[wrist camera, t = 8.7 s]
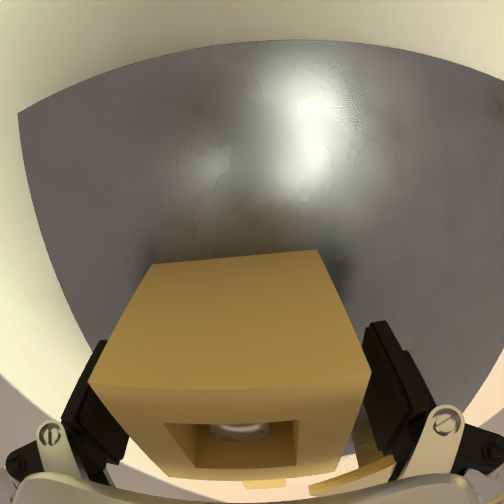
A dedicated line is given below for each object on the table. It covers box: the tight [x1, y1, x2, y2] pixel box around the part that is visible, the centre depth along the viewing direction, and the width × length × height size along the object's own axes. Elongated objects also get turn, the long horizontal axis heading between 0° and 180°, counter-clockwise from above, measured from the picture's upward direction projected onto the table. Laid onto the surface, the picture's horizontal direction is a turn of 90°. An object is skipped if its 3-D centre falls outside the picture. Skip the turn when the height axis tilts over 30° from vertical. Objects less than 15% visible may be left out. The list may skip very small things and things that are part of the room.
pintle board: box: [18, 40, 504, 497], centre depth 11 cm, size 29×28×6 cm
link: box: [88, 249, 371, 489], centre depth 12 cm, size 18×6×6 cm, turn 6°
